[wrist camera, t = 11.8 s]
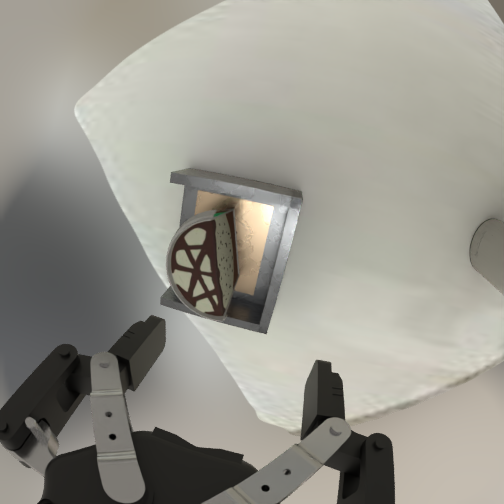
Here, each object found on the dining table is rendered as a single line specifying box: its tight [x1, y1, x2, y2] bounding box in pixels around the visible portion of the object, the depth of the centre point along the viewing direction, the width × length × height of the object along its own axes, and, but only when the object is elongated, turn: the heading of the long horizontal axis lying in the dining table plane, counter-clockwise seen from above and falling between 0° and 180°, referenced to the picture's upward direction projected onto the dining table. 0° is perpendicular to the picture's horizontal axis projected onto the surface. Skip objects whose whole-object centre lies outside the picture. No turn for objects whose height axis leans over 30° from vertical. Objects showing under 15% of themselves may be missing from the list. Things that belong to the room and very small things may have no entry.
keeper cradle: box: [160, 168, 303, 334], centre depth 35 cm, size 15×18×6 cm
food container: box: [166, 208, 240, 322], centre depth 33 cm, size 12×6×10 cm, turn 3°
